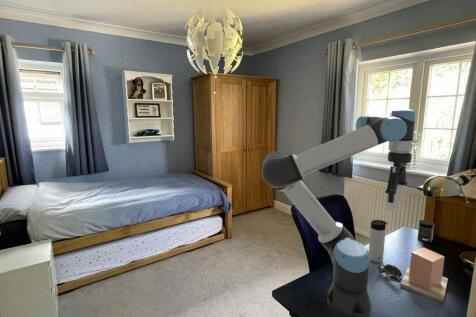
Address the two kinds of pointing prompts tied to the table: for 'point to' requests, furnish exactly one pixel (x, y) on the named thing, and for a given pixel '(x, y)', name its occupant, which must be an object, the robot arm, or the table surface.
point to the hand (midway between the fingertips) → (395, 205)
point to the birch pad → (433, 293)
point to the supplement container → (425, 231)
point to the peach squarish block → (426, 267)
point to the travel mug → (377, 241)
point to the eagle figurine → (390, 271)
